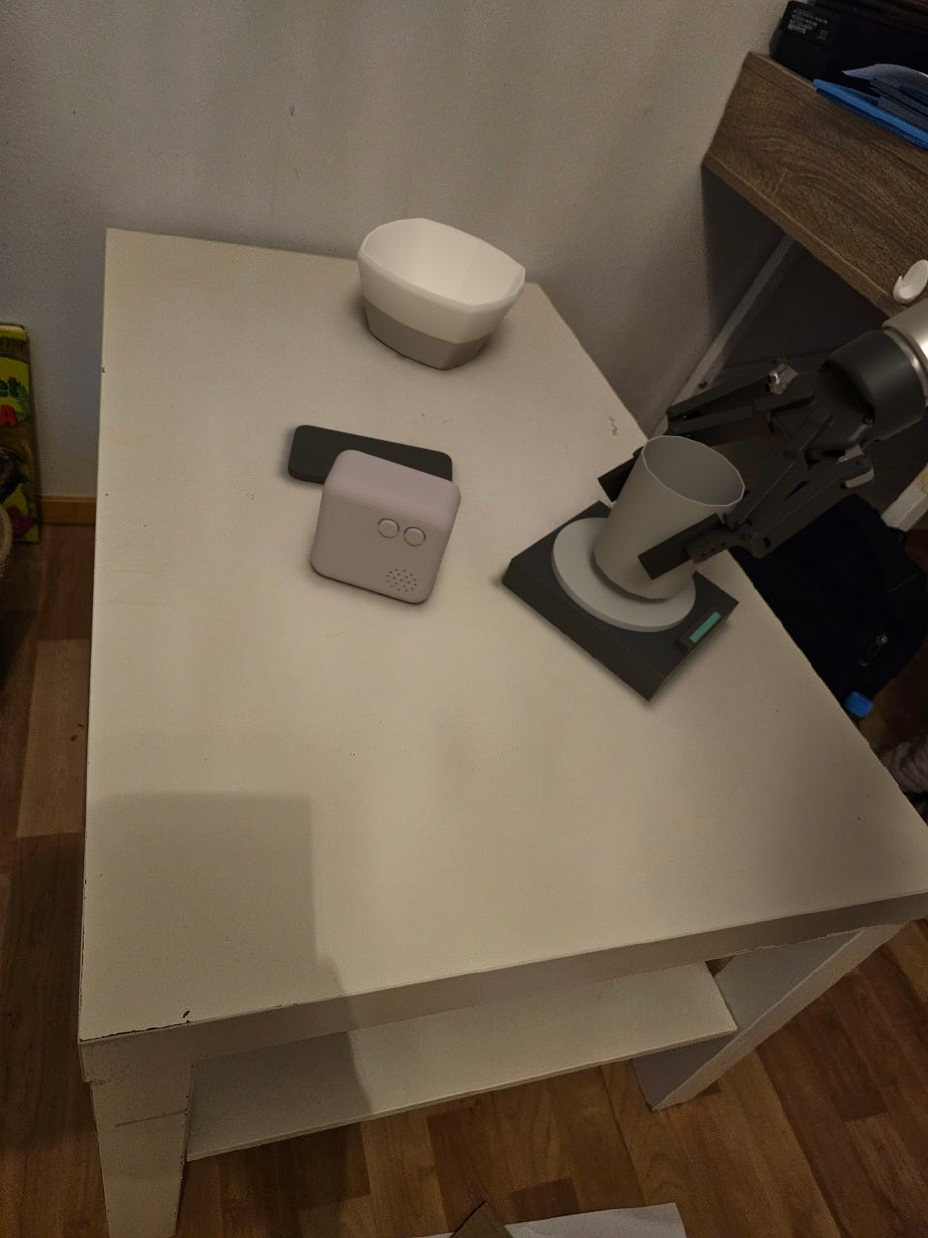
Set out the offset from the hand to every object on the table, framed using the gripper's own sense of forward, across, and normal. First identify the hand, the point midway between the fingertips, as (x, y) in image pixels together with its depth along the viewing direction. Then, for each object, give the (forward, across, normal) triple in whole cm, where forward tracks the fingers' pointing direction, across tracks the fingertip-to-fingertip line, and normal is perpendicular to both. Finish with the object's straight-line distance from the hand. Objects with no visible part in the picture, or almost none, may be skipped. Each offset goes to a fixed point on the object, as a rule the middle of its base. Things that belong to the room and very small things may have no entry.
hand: (623, 527), depth 66 cm
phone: (+18, +17, +5) cm, 25 cm away
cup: (+1, 0, -5) cm, 5 cm away
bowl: (+10, +42, -3) cm, 43 cm away
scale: (+4, 0, -9) cm, 10 cm away
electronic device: (+20, +3, +6) cm, 21 cm away
